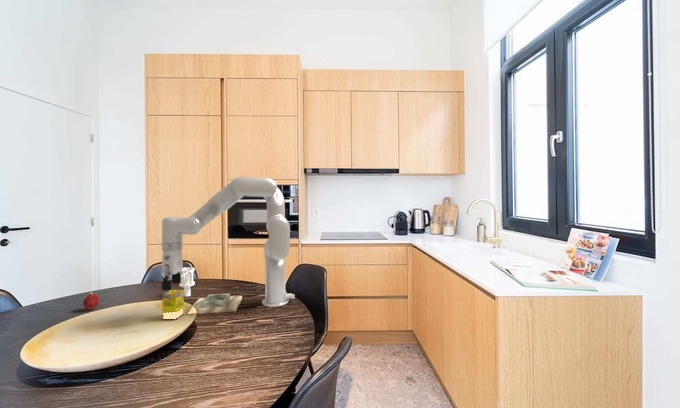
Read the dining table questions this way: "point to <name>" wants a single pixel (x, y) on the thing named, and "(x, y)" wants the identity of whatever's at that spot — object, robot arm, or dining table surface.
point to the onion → (91, 301)
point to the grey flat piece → (217, 303)
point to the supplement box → (172, 301)
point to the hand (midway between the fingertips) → (171, 286)
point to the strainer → (187, 280)
